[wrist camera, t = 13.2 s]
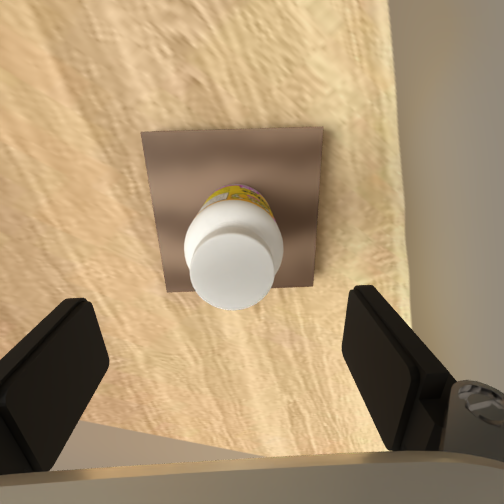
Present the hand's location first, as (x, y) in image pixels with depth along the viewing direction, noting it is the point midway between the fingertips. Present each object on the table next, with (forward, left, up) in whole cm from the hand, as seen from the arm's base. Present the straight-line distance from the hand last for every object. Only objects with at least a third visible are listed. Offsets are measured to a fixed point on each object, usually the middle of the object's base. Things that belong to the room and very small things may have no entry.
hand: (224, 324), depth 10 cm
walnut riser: (+1, 0, -21) cm, 21 cm away
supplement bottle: (0, 0, -18) cm, 18 cm away
